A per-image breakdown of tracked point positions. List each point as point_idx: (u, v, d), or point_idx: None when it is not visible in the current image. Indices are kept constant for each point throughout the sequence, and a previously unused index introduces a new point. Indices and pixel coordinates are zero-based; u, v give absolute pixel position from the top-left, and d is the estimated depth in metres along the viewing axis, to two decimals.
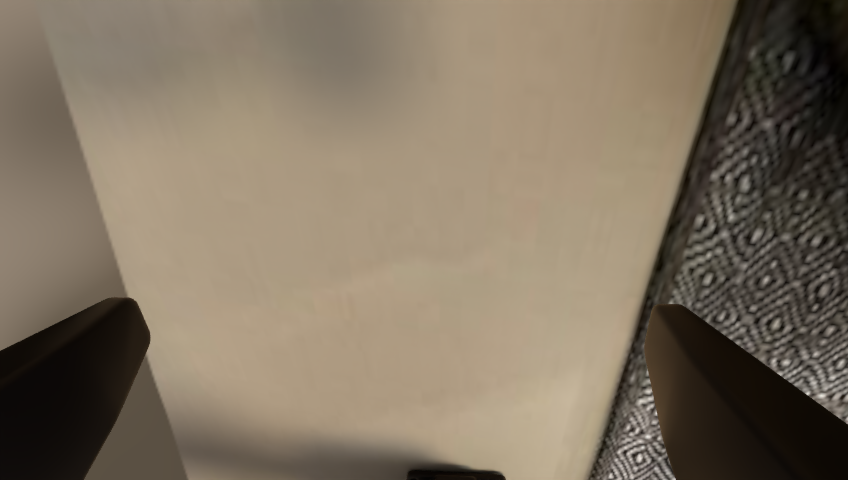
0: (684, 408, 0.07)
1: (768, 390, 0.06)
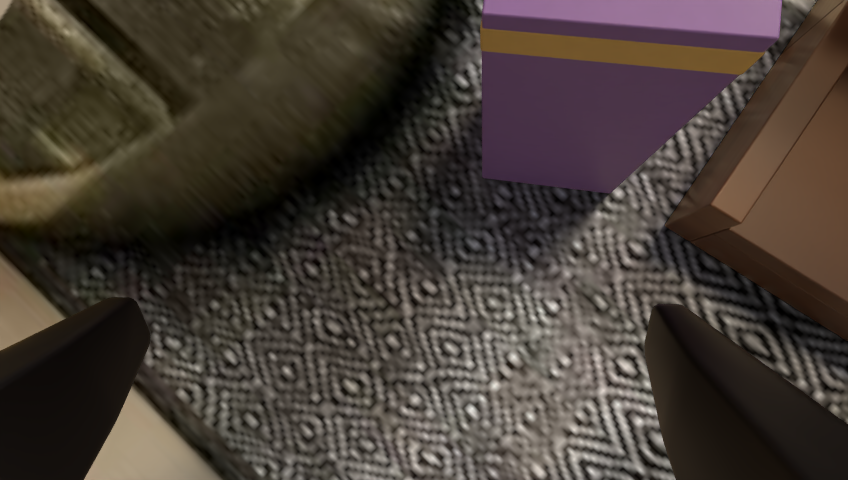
0: (684, 408, 0.07)
1: (768, 390, 0.06)
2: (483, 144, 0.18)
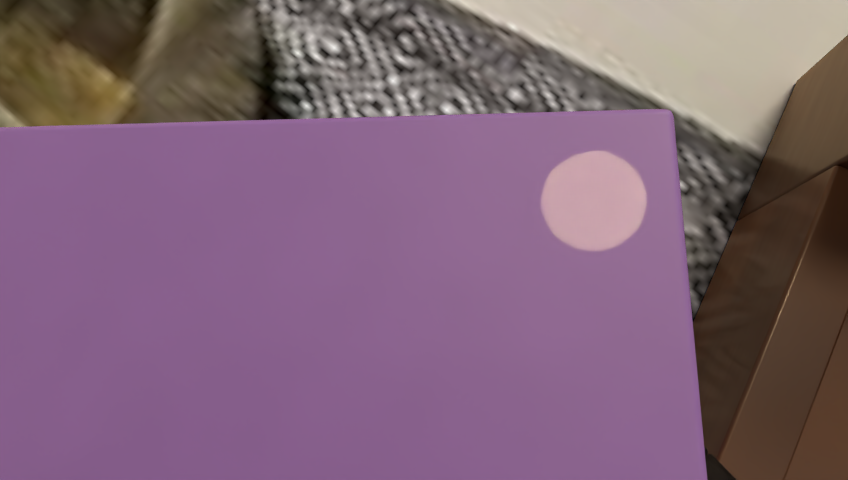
0: None
1: None
2: None
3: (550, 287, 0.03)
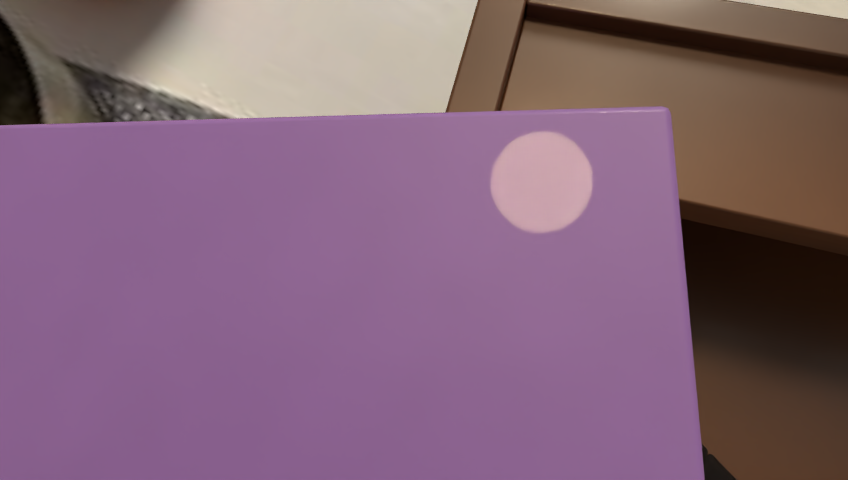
0: None
1: None
2: None
3: (548, 284, 0.03)
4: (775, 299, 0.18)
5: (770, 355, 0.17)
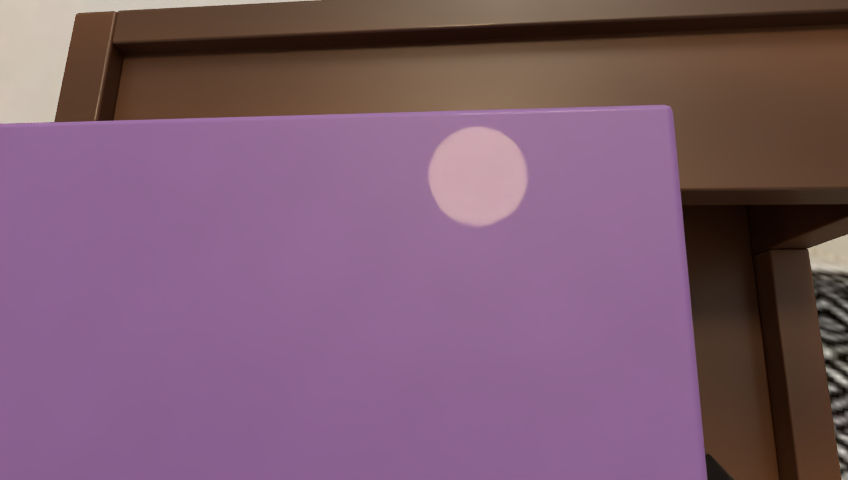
0: None
1: None
2: None
3: (550, 283, 0.03)
4: None
5: None
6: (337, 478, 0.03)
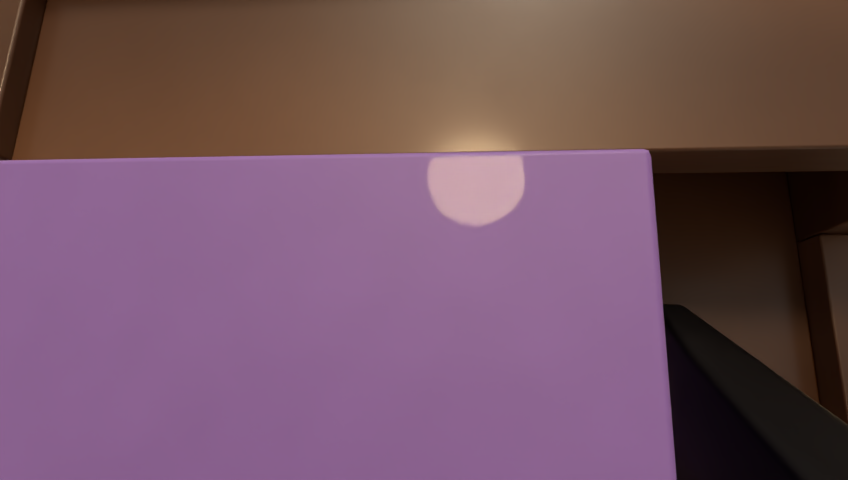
0: (684, 408, 0.07)
1: (768, 390, 0.06)
2: None
3: (544, 303, 0.03)
4: None
5: None
6: (361, 470, 0.03)
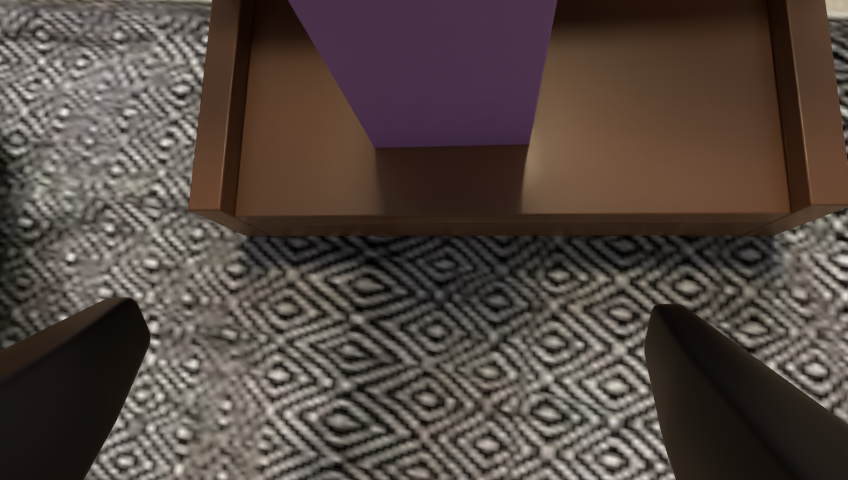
0: (684, 408, 0.07)
1: (768, 390, 0.06)
2: (338, 84, 0.14)
3: None
4: None
5: None
6: None
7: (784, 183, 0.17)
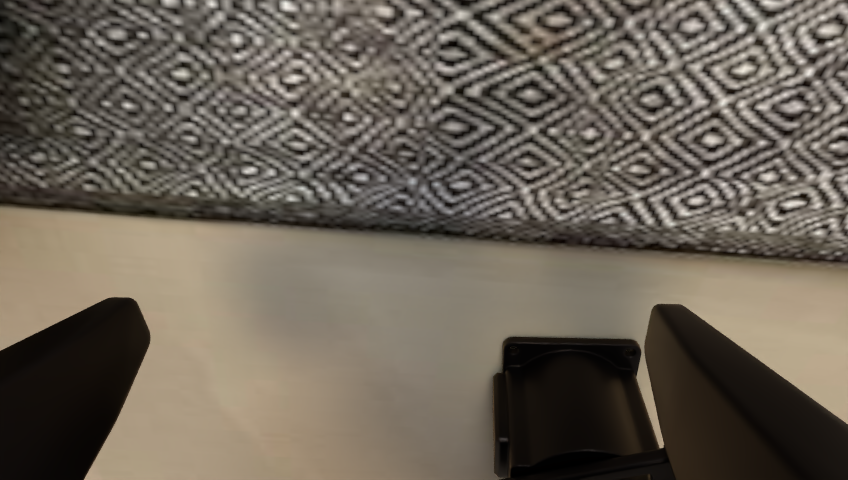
0: (684, 408, 0.07)
1: (768, 390, 0.06)
2: None
3: None
4: None
5: None
6: None
7: None
